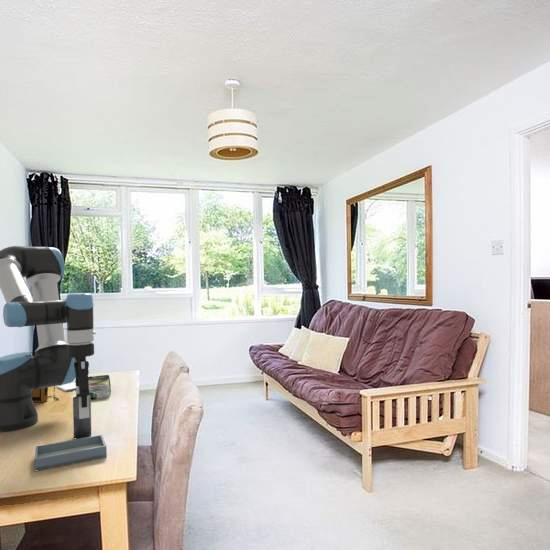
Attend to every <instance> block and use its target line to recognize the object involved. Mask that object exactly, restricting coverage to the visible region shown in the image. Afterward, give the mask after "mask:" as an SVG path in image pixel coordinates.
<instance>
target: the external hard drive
mask: <svg viewBox="0 0 550 550" xmlns="http://www.w3.org/2000/svg"><path fill="white" fill-rule="evenodd" d="M56 387H57V389H59V390H61V391H63V392H65V393H69V392H68V391H70V392H74V391H73V390H75V391H76V383H75V381H73V382H71V383H68V384H64V385H61V386H59V385H58V386H55V388H56ZM77 387H78V386H77Z"/></svg>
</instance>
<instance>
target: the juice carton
mask: <svg viewBox="0 0 550 550" xmlns="http://www.w3.org/2000/svg"><path fill="white" fill-rule="evenodd" d="M88 382H89V392H90V393H89V395H90V396H91V398H92V399H96V398H98V399H103V398H102V397H107V398H110V397H111V391H112V390H111V379H110V375H109V374H105V375H96V376H95V375H94V376H91V375H90V376H88Z"/></svg>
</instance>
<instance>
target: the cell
mask: <svg viewBox="0 0 550 550" xmlns="http://www.w3.org/2000/svg"><path fill="white" fill-rule="evenodd" d="M72 410H73V411H72V414H73V415H72V416H73V418H72V419H73V425H72V426H73V439H74V438H76V439H80V438H86V437H92V399H91V396H90V395H89V418H83V419H79V397H77V396H76V395H75V396H74V397H73V398H72Z"/></svg>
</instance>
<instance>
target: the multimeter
mask: <svg viewBox="0 0 550 550" xmlns="http://www.w3.org/2000/svg"><path fill="white" fill-rule="evenodd" d="M29 353H31V354H33V356H35V352H31V351H30V352H29ZM55 389H56V386H53V391H55ZM48 391H49V387H47V388H41V389H35V390H32V401H33V403H41V402H43V403H45V402H47V401H48V400H49V399H48V398H52V397H53V400H54V401H55V402H56V401H59V397H56V396H57V395H56V394H53V395H48Z"/></svg>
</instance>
